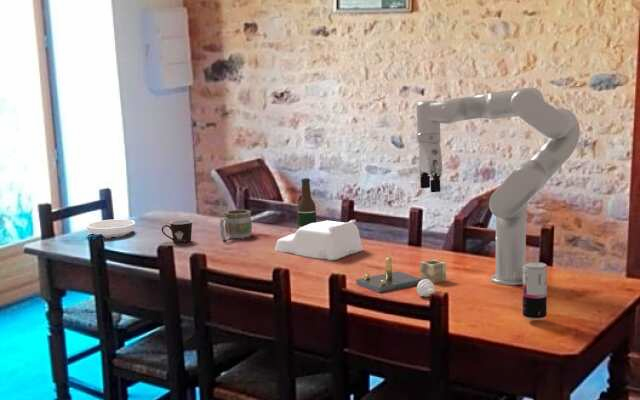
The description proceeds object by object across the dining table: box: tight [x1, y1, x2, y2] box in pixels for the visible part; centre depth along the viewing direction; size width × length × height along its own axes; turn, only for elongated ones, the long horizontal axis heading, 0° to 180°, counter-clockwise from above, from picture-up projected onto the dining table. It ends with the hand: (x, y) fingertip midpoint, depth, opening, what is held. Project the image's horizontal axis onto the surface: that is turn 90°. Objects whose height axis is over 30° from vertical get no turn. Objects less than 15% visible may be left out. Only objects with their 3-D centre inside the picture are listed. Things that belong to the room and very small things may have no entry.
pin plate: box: [355, 257, 422, 293], centre depth 294 cm, size 13×17×9 cm
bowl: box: [86, 218, 136, 239], centre depth 375 cm, size 20×20×7 cm
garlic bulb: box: [416, 279, 436, 298], centre depth 278 cm, size 6×6×5 cm
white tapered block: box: [274, 219, 364, 261], centre depth 340 cm, size 19×30×13 cm, turn 52°
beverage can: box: [522, 261, 548, 320], centre depth 255 cm, size 6×7×15 cm
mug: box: [219, 209, 253, 241], centre depth 364 cm, size 16×11×12 cm
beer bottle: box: [297, 177, 317, 230], centre depth 369 cm, size 8×8×24 cm
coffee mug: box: [161, 219, 193, 244], centre depth 360 cm, size 12×9×10 cm
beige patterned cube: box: [419, 259, 447, 284], centre depth 297 cm, size 6×6×6 cm
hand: (430, 189), depth 302 cm, fingers open, 9 cm apart
